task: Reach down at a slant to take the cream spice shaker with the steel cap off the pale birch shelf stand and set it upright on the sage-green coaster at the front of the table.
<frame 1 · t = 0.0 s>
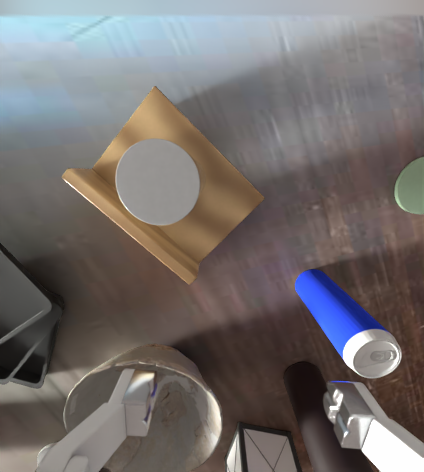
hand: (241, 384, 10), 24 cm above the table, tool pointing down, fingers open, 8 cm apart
beverage can: (309, 281, 35), on the table
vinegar: (301, 374, 40), on the table
shelf: (184, 184, 31), on the table
lantern: (256, 444, 46), on the table
coaster: (423, 185, 30), on the table
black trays: (7, 305, 37), on the table
ceramic bowl: (160, 366, 40), on the table
shaker: (185, 178, 24), point 7 cm above the table, touching shelf
mate gourd: (65, 461, 48), on the table
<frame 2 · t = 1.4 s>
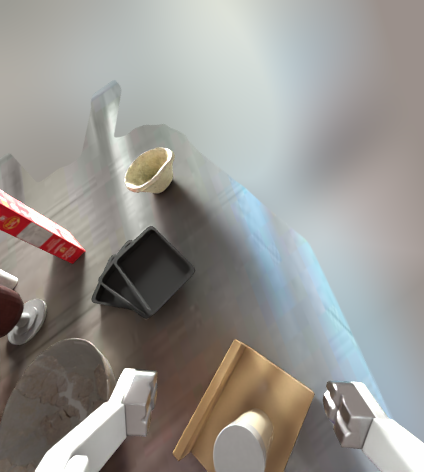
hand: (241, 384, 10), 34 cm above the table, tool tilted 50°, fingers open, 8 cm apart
shelf: (255, 412, 36), on the table
food packaging: (70, 246, 73), on the table
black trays: (149, 274, 57), on the table
ceramic bowl: (95, 402, 45), on the table
shaker: (256, 429, 30), point 7 cm above the table, touching shelf
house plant: (8, 286, 73), on the table
mate gourd: (28, 319, 63), on the table
bowl: (160, 184, 75), on the table
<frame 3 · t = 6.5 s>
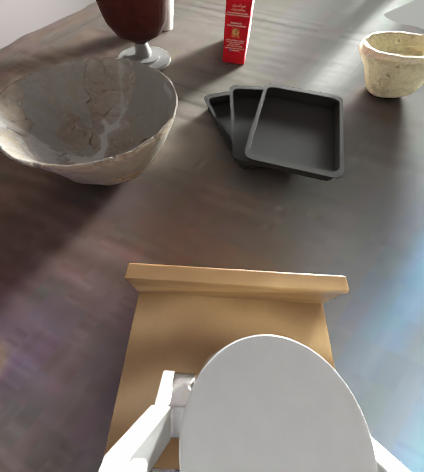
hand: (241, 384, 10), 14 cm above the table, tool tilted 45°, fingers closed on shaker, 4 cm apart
shelf: (223, 360, 23), on the table
food packaging: (236, 50, 57), on the table
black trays: (274, 139, 40), on the table
ceramic bowl: (115, 162, 36), on the table
shaker: (228, 384, 16), point 7 cm above the table, touching gripper, shelf
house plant: (161, 26, 63), on the table
mate gourd: (146, 59, 53), on the table
bowl: (382, 90, 50), on the table
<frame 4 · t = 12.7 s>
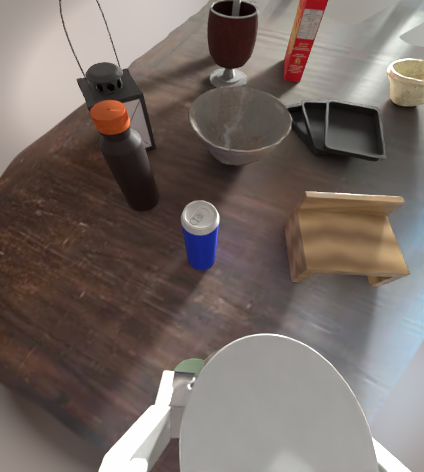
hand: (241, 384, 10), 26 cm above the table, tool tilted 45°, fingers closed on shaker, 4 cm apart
beverage can: (201, 259, 42), on the table
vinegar: (144, 199, 48), on the table
shelf: (328, 254, 43), on the table
food packaging: (291, 70, 76), on the table
lantern: (129, 141, 57), on the table
coaster: (193, 389, 32), on the table
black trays: (332, 136, 60), on the table
ceramic bowl: (234, 152, 56), on the table
shaker: (228, 384, 16), point 20 cm above the table, touching gripper
mate gourd: (228, 79, 73), on the table
bowl: (402, 100, 69), on the table
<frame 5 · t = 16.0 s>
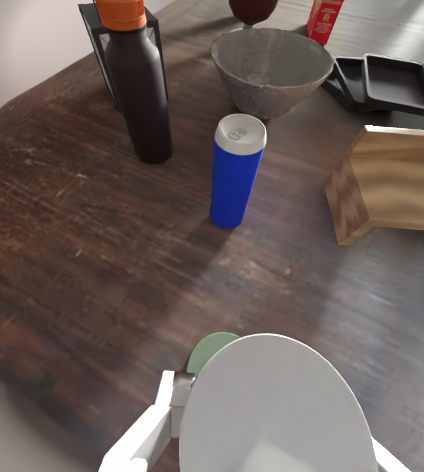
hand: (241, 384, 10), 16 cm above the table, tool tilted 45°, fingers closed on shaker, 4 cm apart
beverage can: (226, 217, 34), on the table
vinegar: (155, 152, 40), on the table
shelf: (379, 215, 35), on the table
food packaging: (315, 33, 70), on the table
lantern: (137, 94, 49), on the table
coaster: (223, 372, 24), on the table
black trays: (368, 96, 53), on the table
ceramic bowl: (258, 107, 49), on the table
shaker: (228, 384, 16), point 9 cm above the table, touching gripper
mate gourd: (247, 39, 66), on the table
when the fingers open (7 cm above the table, at t = 18.8 s): shaker stays where it is, resting on coaster.
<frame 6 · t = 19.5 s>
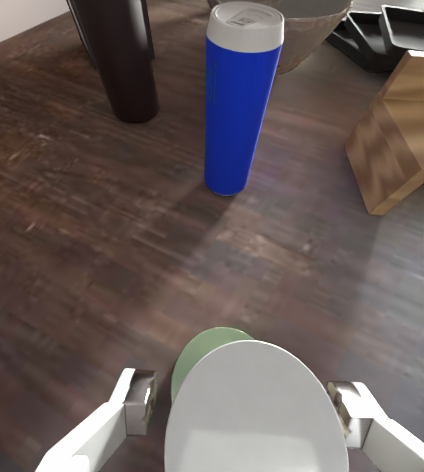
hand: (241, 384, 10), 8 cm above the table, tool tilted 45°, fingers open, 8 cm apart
beverage can: (225, 183, 27), on the table
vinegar: (137, 111, 33), on the table
shelf: (416, 180, 28), on the table
lantern: (118, 52, 42), on the table
coaster: (223, 383, 17), on the table
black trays: (386, 55, 46), on the table
ceramic bowl: (260, 66, 41), on the table
shaker: (221, 385, 16), point 1 cm above the table, touching coaster
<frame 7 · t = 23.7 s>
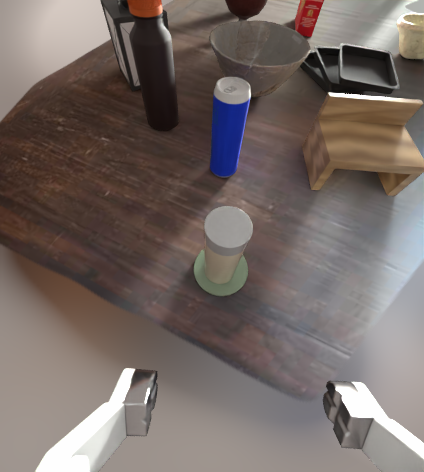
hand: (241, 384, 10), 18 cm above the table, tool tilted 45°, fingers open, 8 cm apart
beverage can: (223, 170, 43), on the table
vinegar: (163, 122, 49), on the table
shelf: (345, 169, 44), on the table
food packaging: (302, 28, 78), on the table
lantern: (146, 77, 58), on the table
coaster: (220, 269, 32), on the table
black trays: (344, 80, 61), on the table
ceramic bowl: (250, 88, 57), on the table
shaker: (219, 268, 32), point 1 cm above the table, touching coaster
mate gourd: (241, 32, 74), on the table
bowl: (410, 55, 71), on the table
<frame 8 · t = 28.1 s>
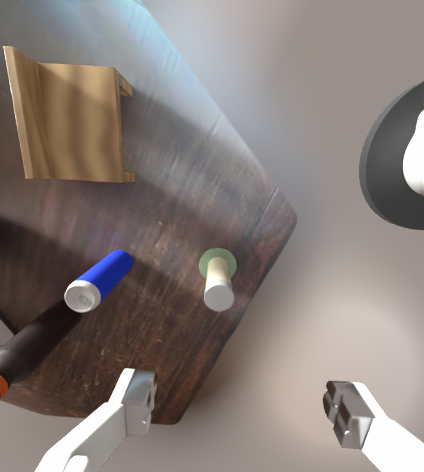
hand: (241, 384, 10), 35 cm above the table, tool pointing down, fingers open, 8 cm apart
beverage can: (122, 260, 47), on the table
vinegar: (68, 311, 51), on the table
shelf: (101, 134, 40), on the table
coaster: (217, 265, 47), on the table
shaker: (218, 267, 46), point 1 cm above the table, touching coaster
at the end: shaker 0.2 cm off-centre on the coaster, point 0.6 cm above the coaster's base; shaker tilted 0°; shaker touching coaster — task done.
